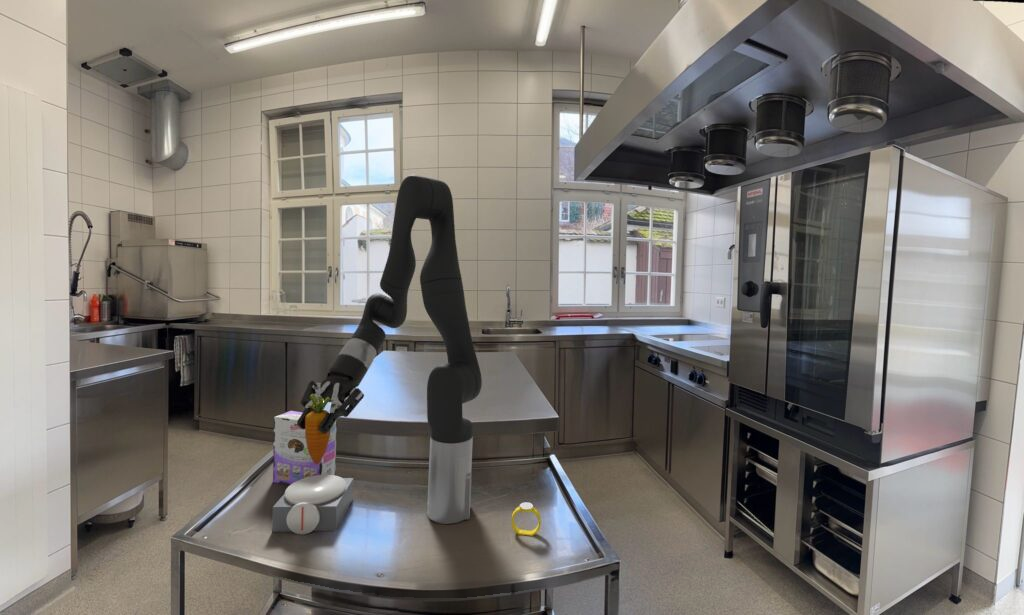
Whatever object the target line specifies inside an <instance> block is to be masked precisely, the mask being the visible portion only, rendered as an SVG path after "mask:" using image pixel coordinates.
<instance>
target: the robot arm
mask: <svg viewBox="0 0 1024 615" xmlns="http://www.w3.org/2000/svg"><path fill="white" fill-rule="evenodd" d="M396 196H397V197H396V204H395V209H394V216H393V224H392V231H391V239H390V246H389V251H388V255H387V258H386V262H385V266H384V269H383V272H382V275H381V278H380V280H379V287H380V289H381V290H382V292H384V293H385V294H386V295H385V294H382V293H378V292H377V293H374V294H371V295H369V297H368V299H367V300H366V302H365V304H364V309H363V312H362V316H361V319H360V322H359V324H358V326H357V328H356V329H355V331H354V332H353V334H352V335H351V337H350V339H349V340H348V341H347V342H346V344H345V345H344V346H343V347H342V349H341V350H340V351H339V353H338V354H337V356H336V357H335V358H334V359H335V360H334V361H333V362H332V363H331V365H330V367H329V368H328V369H327V375H326V377H325V378H324V379H323V380H321V381H320V382H315V381H314V380H311V381H309V383H308V385H307V387H306V389H305V391H304V394H303V396H302V398H301V400H300V404H301V406H303V407H304V410H303V411H302V412H303V413H302V415H301V416H300V418H299V419H298V421H297V426H298V427H299V428H301V429H305V417H306V415H307V414H308V413H310V412H312V411H315V410H313V409H312V408H311V407H310V406H309V404H312V405H314V404H313V402H312V400H311V399H310V396H311V395H312V394H314V395H315V397H316V399H317V401H318V403H319V400H318V396H322V399H323V402H324V400H325V399H326V398H327V397H329V398H330V400H329V401H328V403H331V404H330V409H329V413H327V414H326V416H325V418H324V419H323V421H322V423H321V424H320V426H319V428H318V430H319V431H320V432H321V433H323V434H326V433H327V432H328V431H329V430H330V429H331V428H332V426H333V424H334V422H335V421H336V419H339V418H341V417H344V418H347V417H348V416H350V415H351V413H352V412H353V411H354V409H355V408H356V407H357V406H358V405H359V404H360V402H361V401H362V400H363V399H364V397H365V394H364V393H363V391H362V390H361V389H360V388H359V386H360V384H361V382H362V381H363V379H364V378H365V376H366V374H367V372H368V371H369V369H370V368H371V366H372V364H373V362H374V360H375V357H376V355H377V353H378V352H379V350H380V349H381V347H382V345H383V343H384V342H385V340H386V335H387V334H386V332H385V330H384V329H383V328H382V327H381V326H380V325H378V324H377V323H379V324H381V325H383V326H386V327H388V328H391V329H398V328H400V327H402V325H403V324H404V323H405V321H406V318H407V313H408V293H409V289H410V286H411V282H412V281H413V277H414V274H415V271H416V267H417V264H416V263H417V261H416V260H417V259H416V255H415V250H414V247H413V243H412V230H413V227H414V225H415V222H416V219H421V220H428V221H429V224H430V231H431V232H430V233H431V244H430V248H429V251H428V253H427V255H426V257H425V260H424V262H423V264H422V268H421V270H420V273H419V274H420V275H419V284H420V290H421V294H422V295H421V296H422V302H423V306H424V309H425V311H426V314H427V315H428V317H429V318H430V321H431V322H432V323H433V325H434V327H435V328H436V329H437V331H438V332H439V334H440V335H441V338H442V340H443V343H444V346H445V349H446V356H447V363H444V364H443V363H442V364H440V365H438V366H435V367H434V368H433V369H432V370H431V372H430V374H429V376H428V380H427V385H426V418H427V419H426V420H427V423H428V426H429V430H430V432H429V433H430V438H429V456H428V457H429V460H428V462H429V463H428V481H427V482H428V487H427V488H428V489H427V503H426V505H427V510H426V511H427V516H428V518H429V520H431V521H432V522H435V523H437V524H444V525H448V524H449V525H451V524H457V523H459V522H463V521H466V520H470V518H471V516H470V515H471V494H472V492H471V491H472V464H473V463H472V462H473V444H474V442H473V440H474V424H473V422H472V421H471V420H470V419H468V418H465V417H463V416H464V415H463V404H466V403H468V402H471V401H473V400H475V399H477V397H478V396H479V394H480V393H481V391H482V390H481V389H482V384H483V382H482V381H483V380H482V379H483V378H482V375H481V374H482V373H481V372H482V371H481V368H480V365H479V362H478V361H479V360H478V357H477V354H476V350H475V347H474V342H473V339H472V338H473V337H472V334H471V328H470V322H469V321H470V320H469V317H468V311H467V307H466V306H467V304H466V298H465V292H464V284H463V279H462V273H461V269H460V268H461V267H460V263H459V257H458V249H457V241H456V240H457V239H456V230H455V212H454V200H453V195H452V191H451V188H450V187H449V185H448V184H447V183H446V182H444V181H442V180H440V179H436V178H431V177H428V176H422V175H418V174H410V175H407V176H406V177H405V178H404V179H403V180H402V181H401V183H400V186H399V189H398V192H397V195H396Z"/></svg>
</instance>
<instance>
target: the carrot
mask: <svg viewBox="0 0 1024 615" xmlns="http://www.w3.org/2000/svg"><path fill="white" fill-rule="evenodd" d="M310 399H311V400H312V402H313V404H314V405H312V404H309V406H310V407H311V408H312V409H313V410H315V411H312V412H310V413H308V414H307V415H306V417H305V437H306V443H307V448H308V452H309V454H310V457H311V458H312V460H313V462H314V463H315V464H318V463H319V462H320V461H321V459H322V458H323V456H324V454H325V451H326V449H327V445H328V441H329V436H330V430H329V431H328V432H327V433H326V434H323V433H321V432H320V431H319V430H318V428H319V426H320V424H321V423H322V421H323V419H324V418H325V416H326V414H327V413H330V411H329V412H328V410H325V408H326V406H327V405H328V404H329V402H328V401H329V400H330V398H329V397H327V398H326V399H325V400H324V402H323V398H322V396H318V400H319V403H318V401H317V399H316V397H315V395H314V394H312V395H311V396H310Z"/></svg>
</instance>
